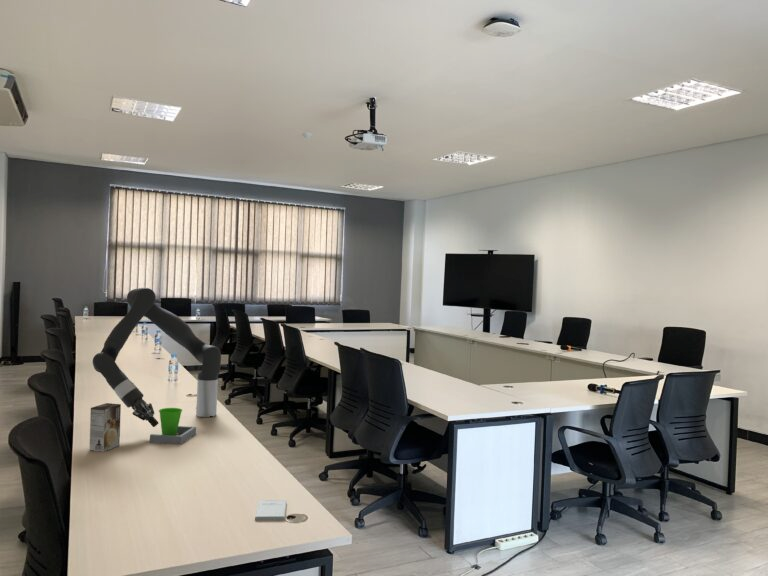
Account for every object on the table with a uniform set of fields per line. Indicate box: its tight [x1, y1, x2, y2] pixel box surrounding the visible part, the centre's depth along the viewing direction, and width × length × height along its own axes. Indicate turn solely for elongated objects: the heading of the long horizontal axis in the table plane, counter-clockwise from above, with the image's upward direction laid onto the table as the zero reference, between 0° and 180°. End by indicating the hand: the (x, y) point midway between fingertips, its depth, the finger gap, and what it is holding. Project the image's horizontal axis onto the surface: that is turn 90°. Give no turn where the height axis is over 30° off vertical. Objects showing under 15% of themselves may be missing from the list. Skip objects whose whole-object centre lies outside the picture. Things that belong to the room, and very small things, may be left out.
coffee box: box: [88, 402, 122, 453], centre depth 218 cm, size 9×6×16 cm
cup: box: [158, 407, 183, 436], centre depth 236 cm, size 9×9×11 cm
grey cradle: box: [149, 425, 197, 445], centre depth 235 cm, size 15×13×3 cm
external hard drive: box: [254, 499, 287, 521], centre depth 167 cm, size 2×8×12 cm
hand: (156, 425), depth 235 cm, fingers closed
